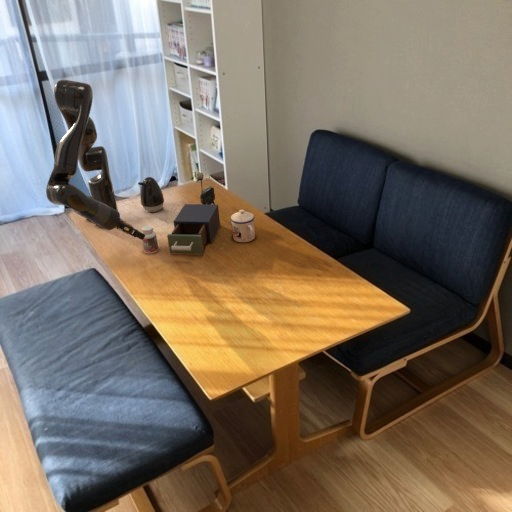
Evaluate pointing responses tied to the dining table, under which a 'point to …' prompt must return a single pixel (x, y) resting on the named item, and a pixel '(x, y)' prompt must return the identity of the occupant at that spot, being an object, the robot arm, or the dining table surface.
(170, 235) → the drawer
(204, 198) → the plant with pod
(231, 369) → the dining table surface
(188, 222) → the cabinet
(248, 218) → the teacup with lid
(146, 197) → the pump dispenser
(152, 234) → the pill bottle
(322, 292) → the dining table surface
